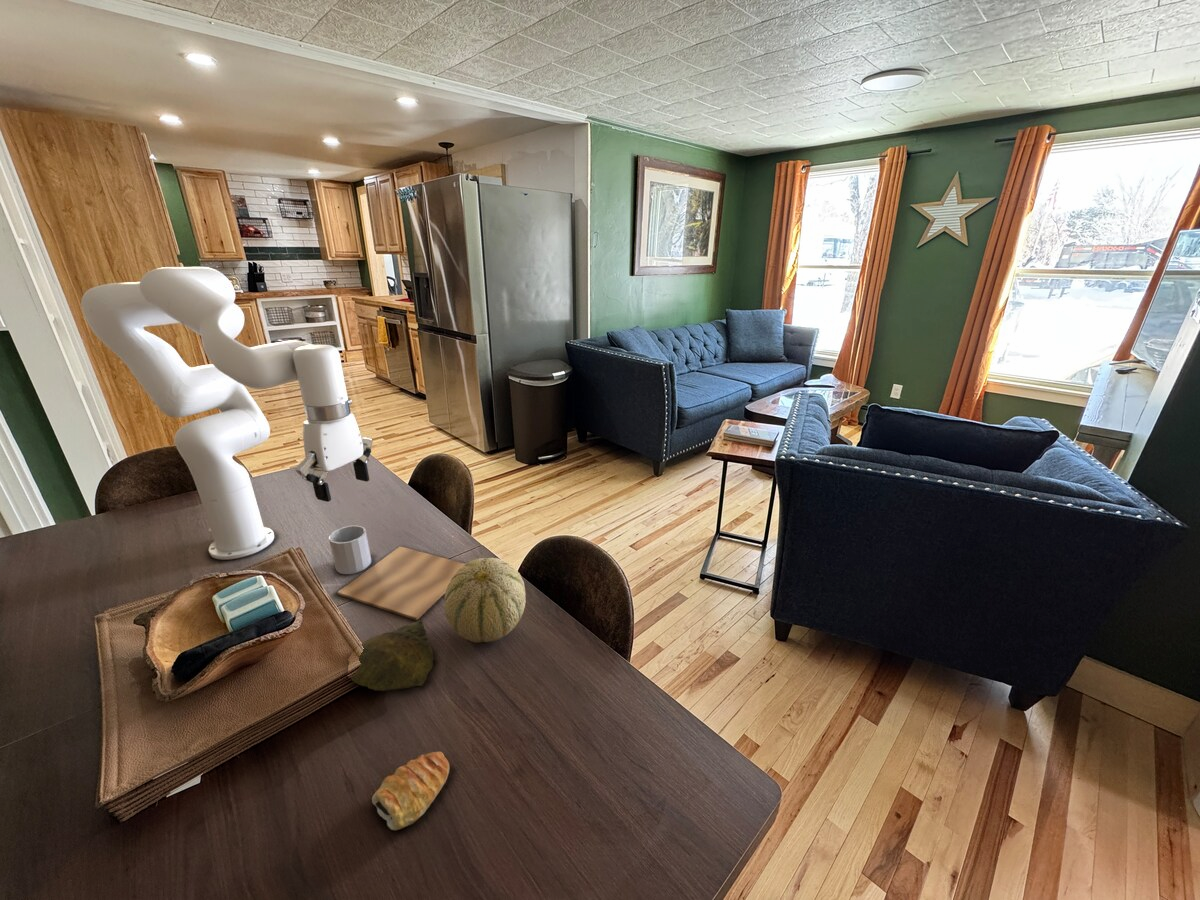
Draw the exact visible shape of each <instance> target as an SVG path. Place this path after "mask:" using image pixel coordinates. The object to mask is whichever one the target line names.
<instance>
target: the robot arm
mask: <svg viewBox="0 0 1200 900" xmlns="http://www.w3.org/2000/svg"><path fill="white" fill-rule="evenodd" d="M235 301H236V291H235V288H234V286H233V283H232V282H231V280H230V279H229V278H228V277H227V276H226V275H225V274H224V273H222V272H221V271H219V270H217V269H215V268H211V267H207V266H165V267H158V268H155V269H151V270H149V271H147V272H145V274H143V275H142V277H141V278H140V281H136V282H135V281H130V282H129V281H128V282H113V283H105V284H99V285H97V286H94V287H91V288H89V289H88V290H86V291H85V292H84V293H83V295H82V297H81V301H80V302H81V303H80V304H81V311H82V315H83V317H84V319H85V321H86V323H87V325H88V327H89V329H90V330H91V331H92V333H93V334H94V335H95V336H96V338H98V339H99V340H100V342H101V343H102V344H104V345H105V346H106V347H107V348H108V349H109V350H110V351H111V352H113V354H115V355H116V356H117V357H118V358H119V359H120V360H121V361H122V362H123V364H124V365H126V367H127V368H128V370H129V371H130V372H131V374H132V376H133V377H134V378H135V379H136V381H137V382H138V383H139V385H140V386H141V387H142V389H143V390H144V392H145V393H146V394H147V396H148V397H149V398H150V399H151V401H152V402H153V403H154V405H155V407H157V408H158V409H159V411H160V412H161V413H163V414H164V415H165V416H167V417H170V418H177V419H178V418H184V417H189V416H194V415H198V414H200V413H203V412H207V411H210V410H214V409H218V410H219V411H220V412H218V413H214V414H210V415H207V416H203V417H200V418H197V419H193V420H192V421H189V422H187V423H185V424H183V425H182V426H181V427H179V428H178V429H177V430H176V432H175V434H174V445H175V447H176V449H177V451H178V453H179V455H180V456H181V458H182V459H183V461H184V463H185V464H186V466H187V468H188V470H189V472H190V475H191V477H192V479H193V482H194V484H195V487H196V490H197V493H198V496H199V499H200V502H201V505H202V508H203V510H204V511H203V512H204V514H205V517H206V520H207V523H208V526H209V528H208V530H207V532H208V533H210V534H211V535H212V537H213V541H212V543H211V544H210V545H209V547H208V553H209V555H210V557H212V558H213V559H216V560H222V561H223V560H225V561H226V560H228V561H229V560H236V559H241V558H245V557H248V556H251V555H254V554H256V553H258V552H260V551H262V550H264V549H265V548H267V547H269V546H270V545H271V544H272V543H273V541H274V539H275V533H274V531H273V530H272V529H271V528H269V527H266V526H265V525H264V523H263V519H262V516H261V512H260V508H259V506H258V502H257V498H256V495H255V491H254V487H253V484H252V480H251V478H250V475H249V472H248V470H247V469H246V468H245V467H244V466H243V465H241V464H239V463H238V461H236V460H234V458H233V457H235V455H238V454H240V453H242V452H244V451H247V450H250V449H252V448H255V447H257V446H259V445H262V444H264V443H265V442H266V441H267V440H268V439H269V437H270V434H271V427H270V424H269V421H268V419H267V418H266V416H265V414H264V413H263V411H262V410H261V408H260V407H259V405H258V404H257V402H256V401H255V399H254V398H253V397H252V395H251V394H250V392H249V390H248V389H247V388H249V389H254V390H268V389H271V388H275V387H278V386H282V385H286V384H289V383H294V382H298V385H299V390H300V394H301V398H302V399H301V400H302V403H303V408H304V412H305V416H306V420H304V421H303V424H302V440H303V441H302V442H303V449H304V450H303V451H304V456H305V457H304V459H303V460H302V461H300V463H299V464H298V465H297V466H296V467H295V472H296V473H297V474H298V475H299V477H301V478H302V480H305V481H307V482H309V483H312V486H313V491H314V495H315V497H316V499H317V500H318V501H322V502H327V503H329V502H330V501H331V500H332V496H331V492H330V486H329V483H328V482H326V479H327V477H328V474H329V472H332V471H334V470H337V469H339V468H341V467H343V466H346V465H348V464H350V463H352V465H353V470H354V476H355V479H356V480H357V481H362V482H366V483H367V482H370V475H369V469H368V463H369V461H370V459H369V457H370V455H371V453H372V449H371V448H372V447H373V442H374V440H373V439H372V438H369V437H364V436H362V435H361V431H360V428H359V425H358V422H357V419H356V417H355V415H354V413H353V412H352V411H351V407H350V405H352V404H353V401H352V399H351V398H350V397H348V392H347V391H348V390H347V387H346V386H347V385H346V381H345V376H344V371H343V365H342V360H341V359H342V358H341V354H340V351H339V350H338V349H337V348H336V347H335V346H334V345H331V344H313V343H309V342H307V341H304V340H297V339H291V340H284V341H279V342H272V343H265V344H261V345H255V346H251V347H249V346H247V345H245V344H242V343H241V342H239V341H238V340H236V338H237V337H238V336H239V335H240V333H241V332H242V330H243V328H244V326H245V322H246V321H245V320H246V319H245V318H246V317H245V314H244V312H243V310H242V309H241V307H240V306H239V305H238V304H236V303H235ZM173 324H181V325H183V326H184V327H186V328H187V329H189V330H191V331H192V332H194V333H195V334H197V335H199V336H200V337H201V345H202V348H203V351H204V353H205V355H206V357H207V359H208V360H209V361H210V363H211V364H203V365H198V366H193V367H192V366H189V365H188V364H187V363H185V361H184V359H183V358H182V357H181V356H180V353H178V351H177V350H176V348H175V347H173V345H171V344H170V343H168V342H167V341H165V340H164V339H162V338H161V337H159V336H157V335H155V334H154V333H151V332H149V331H147V330H145V329H144V328H145V327H146V328H147V327H155V326H164V325H173ZM310 470H311V472H310Z"/></svg>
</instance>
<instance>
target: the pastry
mask: <svg viewBox="0 0 1200 900" xmlns="http://www.w3.org/2000/svg"><path fill="white" fill-rule="evenodd" d="M449 774H450V762H449V760H448V759H447V758H446V757H445V754H444V753H443V752H442V751H432V752H430V753H426V754H419V756H418V757H417V758H415V759H410V760H409V761H407V763H406V764H403V765H401V766H399V767H397V768H396V770H395V771H394V773H393V774H392V775H387V776H386V777H384V779H383V780H382V782H381V784H380V786H379V787H378V789H377V790H376V791H375V793H374V794H373V795H372V797H371V803H372V805H374V807H375V808H376V812H377V814H378V815H379V817H381V818H382V819H383V820H385V821H386V825H387V827H388V828H389V829H390V830H391V831H398V830H402V829H404V828H406V827H408V826H409V827H410V826H411V825H413V824H414V823H416V822H417V821H418V820H419V819H420V818H421V817H422V816H423V815H424V814H425V813H426V811H427V810H428V809H429V808H430V806H431V804H433V802H434V800H435V799H436V797H437V796H438V794H439V793H440V791H442V788H443V787H444V785H445V784H446V782H447V780H448V777H449Z"/></svg>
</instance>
